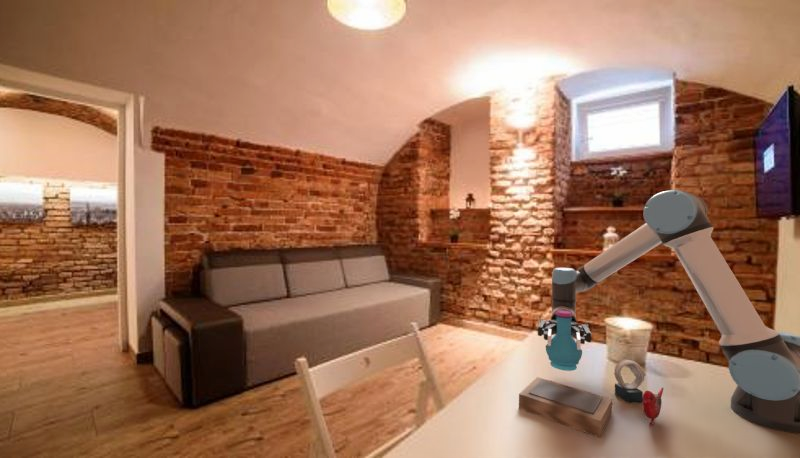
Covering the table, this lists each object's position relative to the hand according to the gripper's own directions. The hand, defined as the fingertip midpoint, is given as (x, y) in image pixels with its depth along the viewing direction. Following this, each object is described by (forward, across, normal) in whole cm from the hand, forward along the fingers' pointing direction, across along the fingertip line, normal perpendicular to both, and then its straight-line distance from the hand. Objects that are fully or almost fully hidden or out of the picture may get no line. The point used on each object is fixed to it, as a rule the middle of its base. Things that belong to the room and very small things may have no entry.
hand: (563, 342), depth 93 cm
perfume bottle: (-5, 0, -8) cm, 10 cm away
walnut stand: (-4, 0, -20) cm, 20 cm away
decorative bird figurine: (-8, -22, -20) cm, 30 cm away
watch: (-19, -18, -20) cm, 33 cm away
